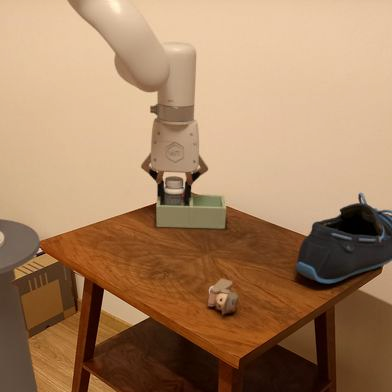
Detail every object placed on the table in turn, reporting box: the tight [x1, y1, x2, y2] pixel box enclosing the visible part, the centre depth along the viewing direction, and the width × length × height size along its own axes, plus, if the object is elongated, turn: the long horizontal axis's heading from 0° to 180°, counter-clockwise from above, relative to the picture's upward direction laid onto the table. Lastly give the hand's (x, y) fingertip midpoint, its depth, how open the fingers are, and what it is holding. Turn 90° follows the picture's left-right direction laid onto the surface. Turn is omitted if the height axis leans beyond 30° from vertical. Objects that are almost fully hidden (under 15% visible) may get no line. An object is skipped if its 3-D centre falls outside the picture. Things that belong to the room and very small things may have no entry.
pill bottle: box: [164, 175, 185, 206], centre depth 115 cm, size 5×5×8 cm
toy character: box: [207, 278, 240, 316], centre depth 87 cm, size 4×8×6 cm
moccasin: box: [294, 192, 392, 285], centre depth 101 cm, size 14×34×12 cm, turn 142°
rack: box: [155, 193, 227, 230], centre depth 117 cm, size 15×8×5 cm, turn 91°
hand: (174, 199), depth 115 cm, fingers closed on pill bottle, 4 cm apart
